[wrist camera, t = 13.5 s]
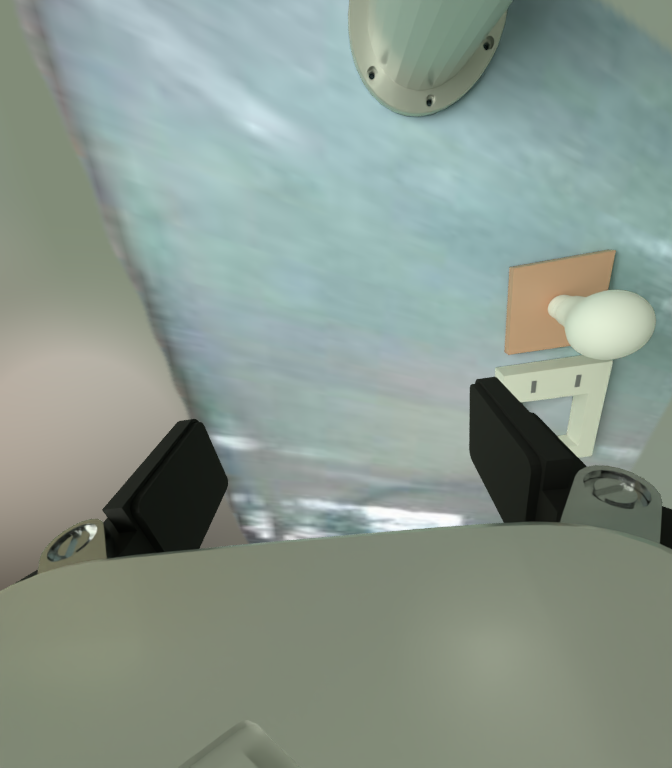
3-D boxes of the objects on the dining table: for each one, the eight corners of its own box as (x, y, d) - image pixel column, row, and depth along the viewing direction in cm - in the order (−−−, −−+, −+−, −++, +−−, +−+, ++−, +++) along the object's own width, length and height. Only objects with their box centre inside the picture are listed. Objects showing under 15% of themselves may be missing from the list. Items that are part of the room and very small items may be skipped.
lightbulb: (568, 263, 33) (658, 280, 24) (595, 304, 35) (690, 336, 25) (516, 304, 35) (579, 336, 26) (544, 341, 37) (613, 384, 28)
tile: (509, 267, 35) (513, 268, 34) (608, 249, 34) (615, 250, 33) (504, 351, 39) (508, 354, 38) (592, 338, 38) (597, 341, 37)
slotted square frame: (495, 367, 40) (504, 376, 38) (597, 352, 39) (613, 361, 36) (491, 454, 46) (498, 466, 44) (579, 444, 45) (592, 456, 43)
